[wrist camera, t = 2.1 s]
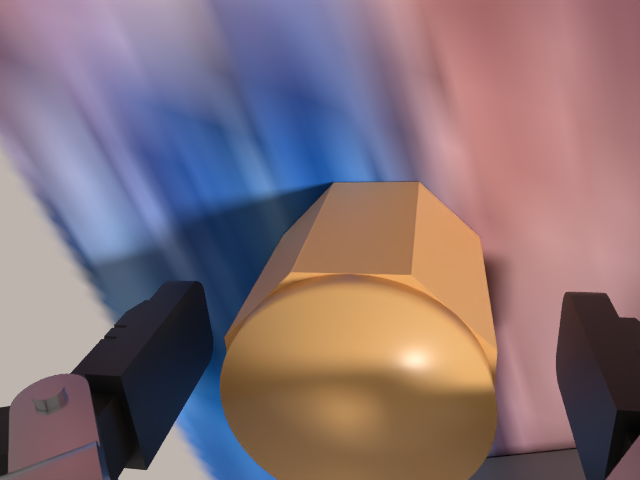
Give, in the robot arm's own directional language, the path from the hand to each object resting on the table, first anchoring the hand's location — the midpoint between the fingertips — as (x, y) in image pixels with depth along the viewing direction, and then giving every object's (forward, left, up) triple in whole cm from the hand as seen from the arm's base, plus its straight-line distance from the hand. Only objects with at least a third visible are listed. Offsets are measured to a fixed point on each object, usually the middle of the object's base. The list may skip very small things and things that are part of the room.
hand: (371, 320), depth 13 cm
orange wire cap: (0, 0, -2) cm, 2 cm away
